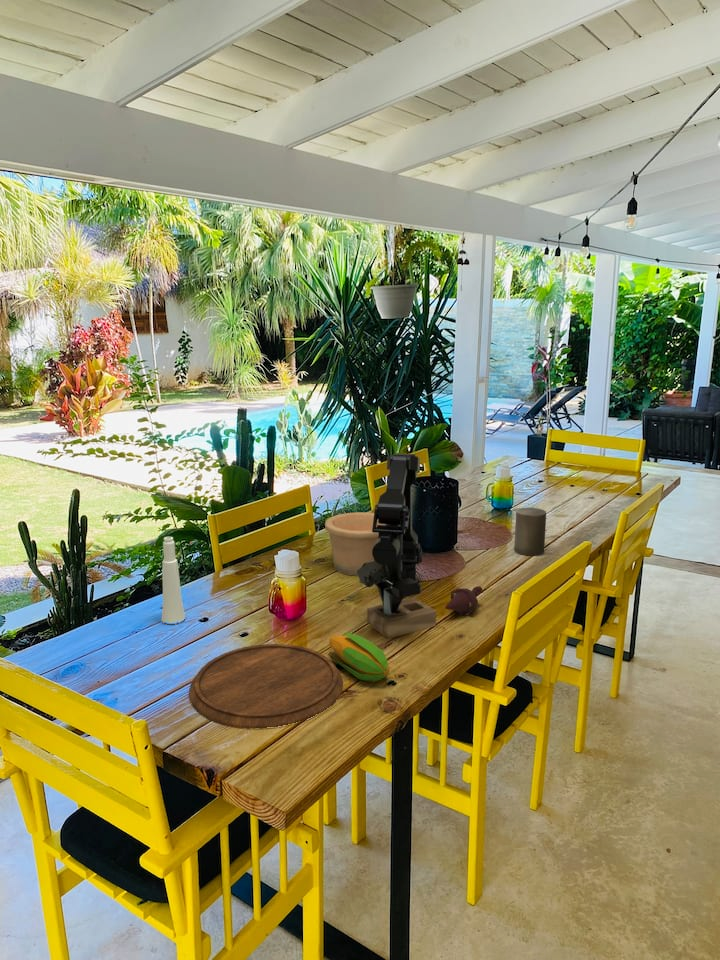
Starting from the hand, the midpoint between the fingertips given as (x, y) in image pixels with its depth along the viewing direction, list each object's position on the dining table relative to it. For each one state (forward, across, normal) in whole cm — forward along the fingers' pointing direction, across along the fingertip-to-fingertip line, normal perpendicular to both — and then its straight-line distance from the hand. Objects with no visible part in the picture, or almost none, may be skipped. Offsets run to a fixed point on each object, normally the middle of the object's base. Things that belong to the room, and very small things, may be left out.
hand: (389, 610), depth 176 cm
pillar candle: (+5, -26, +70) cm, 75 cm away
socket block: (+4, 0, +4) cm, 6 cm away
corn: (+5, +14, -18) cm, 23 cm away
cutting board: (+5, +11, -38) cm, 39 cm away
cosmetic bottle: (+5, -31, -46) cm, 55 cm away
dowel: (+2, 0, 0) cm, 2 cm away
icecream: (+5, +2, +21) cm, 22 cm away
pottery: (+5, -41, +16) cm, 44 cm away
